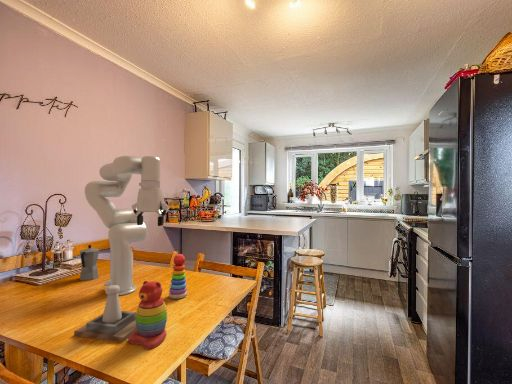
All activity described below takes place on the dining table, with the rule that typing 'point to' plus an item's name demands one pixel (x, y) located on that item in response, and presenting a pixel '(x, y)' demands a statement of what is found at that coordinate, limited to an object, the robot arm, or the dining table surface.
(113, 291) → the salt shaker
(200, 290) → the dining table surface
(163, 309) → the stacking bear
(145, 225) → the robot arm
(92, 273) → the coffeepot
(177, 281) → the stacking toy
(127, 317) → the stand
